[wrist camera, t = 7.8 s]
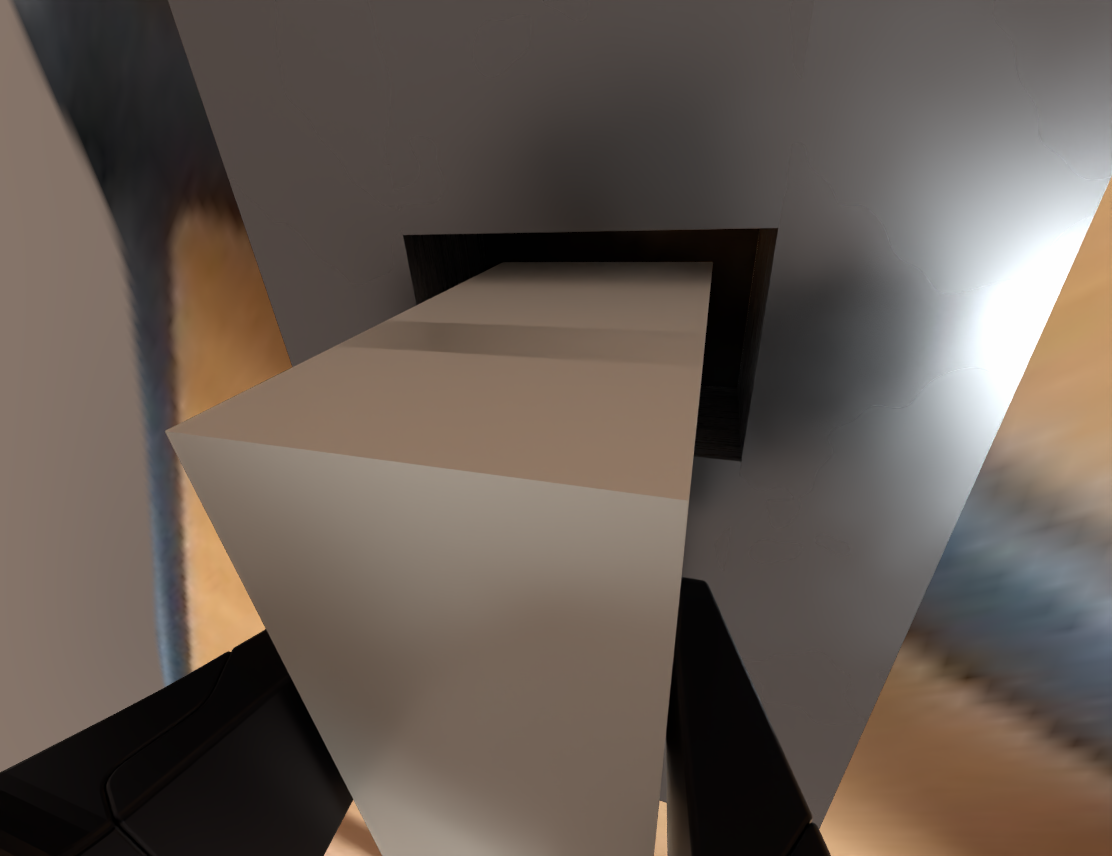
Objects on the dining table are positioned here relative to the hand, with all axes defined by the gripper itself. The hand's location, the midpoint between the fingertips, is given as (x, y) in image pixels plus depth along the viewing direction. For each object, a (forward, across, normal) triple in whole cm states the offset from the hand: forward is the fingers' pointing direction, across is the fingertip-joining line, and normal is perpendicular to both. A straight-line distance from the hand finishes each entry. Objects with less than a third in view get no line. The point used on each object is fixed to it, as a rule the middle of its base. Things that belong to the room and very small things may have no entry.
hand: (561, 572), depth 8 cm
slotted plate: (+4, 0, 0) cm, 4 cm away
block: (+4, 0, 0) cm, 4 cm away
